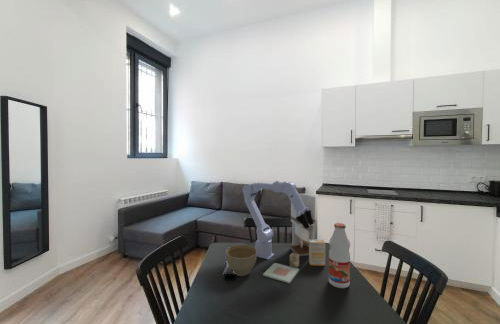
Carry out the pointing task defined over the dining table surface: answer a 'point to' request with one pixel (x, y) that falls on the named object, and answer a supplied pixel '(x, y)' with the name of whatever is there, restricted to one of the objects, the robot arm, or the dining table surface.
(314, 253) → the supplement box
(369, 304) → the dining table surface
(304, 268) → the dining table surface
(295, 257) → the maple block
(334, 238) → the fruit juice
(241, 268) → the planter bowl
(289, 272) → the sage board
